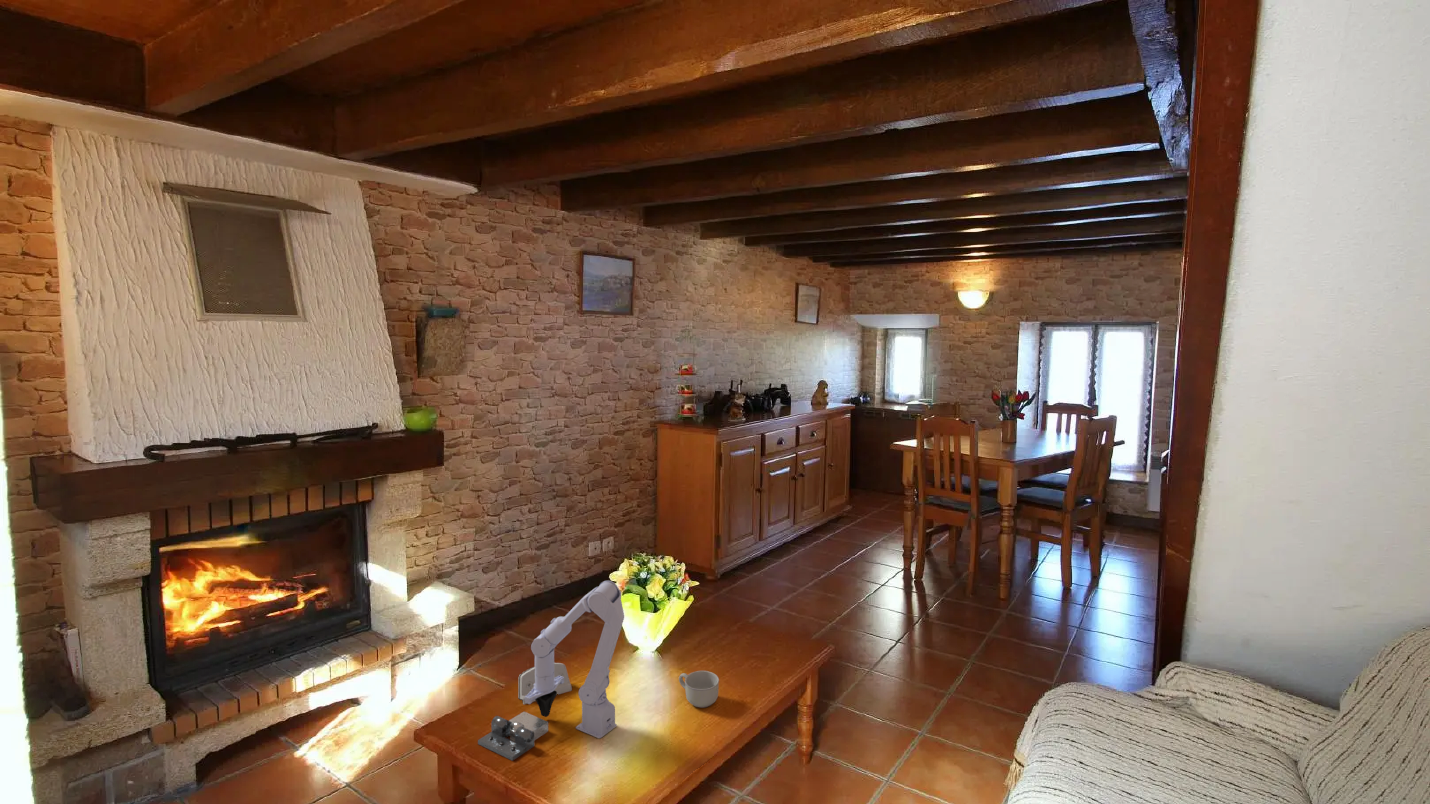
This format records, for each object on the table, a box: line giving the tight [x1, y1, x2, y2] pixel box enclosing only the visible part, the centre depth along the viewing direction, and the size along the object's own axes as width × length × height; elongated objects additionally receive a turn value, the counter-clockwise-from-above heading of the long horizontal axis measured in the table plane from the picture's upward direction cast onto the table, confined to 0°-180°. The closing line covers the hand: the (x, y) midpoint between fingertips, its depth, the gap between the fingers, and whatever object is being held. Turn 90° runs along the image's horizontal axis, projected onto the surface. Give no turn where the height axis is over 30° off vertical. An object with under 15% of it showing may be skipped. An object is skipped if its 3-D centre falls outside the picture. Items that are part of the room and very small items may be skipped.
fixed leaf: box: [477, 715, 535, 762], centre depth 199 cm, size 14×8×5 cm, turn 59°
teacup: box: [678, 670, 720, 709], centre depth 224 cm, size 14×11×8 cm
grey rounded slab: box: [517, 662, 573, 705], centre depth 228 cm, size 17×5×10 cm, turn 124°
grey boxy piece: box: [508, 711, 549, 742], centre depth 205 cm, size 10×9×5 cm
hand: (545, 715), depth 212 cm, fingers closed
